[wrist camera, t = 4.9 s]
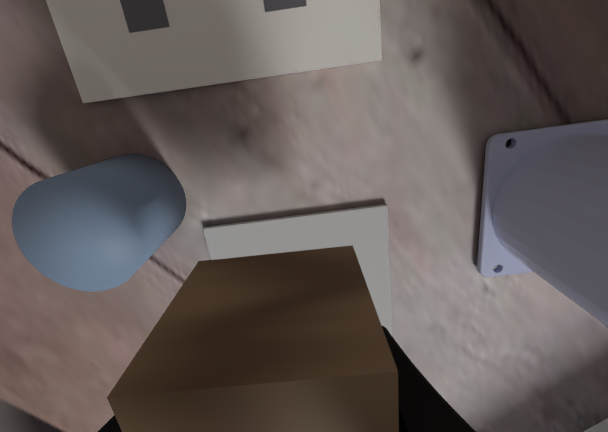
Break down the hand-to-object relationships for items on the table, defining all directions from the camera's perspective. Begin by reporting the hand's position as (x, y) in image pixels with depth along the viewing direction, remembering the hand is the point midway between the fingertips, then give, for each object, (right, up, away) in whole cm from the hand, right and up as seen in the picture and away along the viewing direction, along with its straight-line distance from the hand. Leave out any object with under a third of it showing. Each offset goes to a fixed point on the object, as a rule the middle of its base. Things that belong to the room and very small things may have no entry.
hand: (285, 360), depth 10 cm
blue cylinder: (-8, +5, +7) cm, 12 cm away
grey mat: (+1, 0, +9) cm, 9 cm away
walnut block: (0, +1, +1) cm, 1 cm away
